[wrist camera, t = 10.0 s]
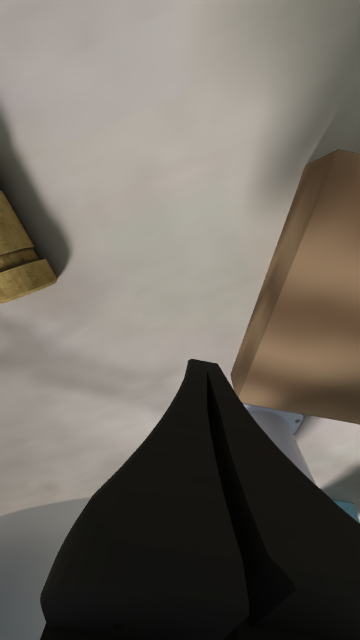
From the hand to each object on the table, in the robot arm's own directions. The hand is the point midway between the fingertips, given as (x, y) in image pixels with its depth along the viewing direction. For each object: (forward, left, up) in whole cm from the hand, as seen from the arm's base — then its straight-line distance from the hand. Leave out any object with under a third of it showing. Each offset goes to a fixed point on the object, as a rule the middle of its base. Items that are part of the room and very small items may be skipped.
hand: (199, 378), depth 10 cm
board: (+2, -11, -10) cm, 15 cm away
